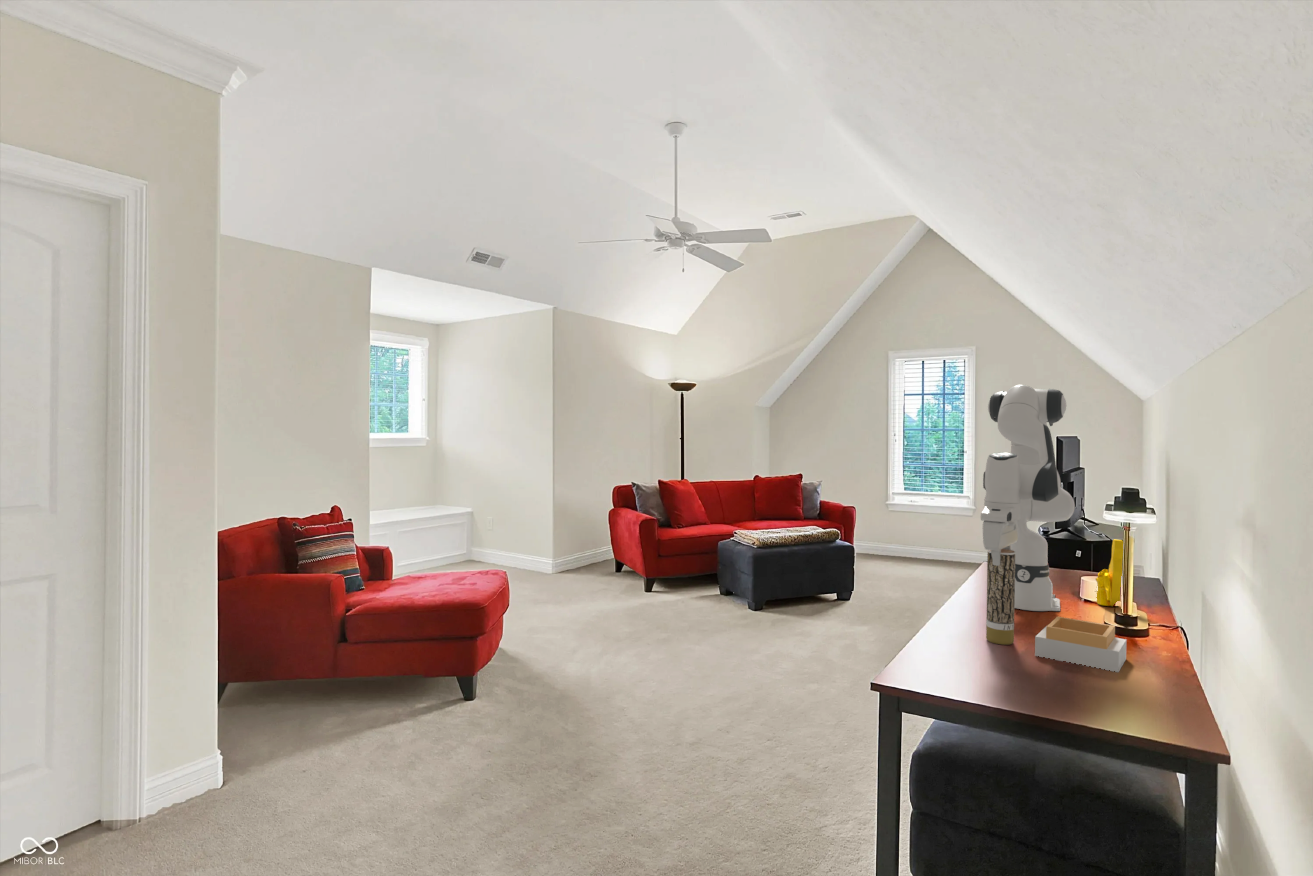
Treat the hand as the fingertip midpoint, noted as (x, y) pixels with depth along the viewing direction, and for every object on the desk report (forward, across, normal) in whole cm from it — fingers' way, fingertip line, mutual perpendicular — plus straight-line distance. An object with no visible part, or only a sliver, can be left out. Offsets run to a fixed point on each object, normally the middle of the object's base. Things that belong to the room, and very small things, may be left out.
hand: (1001, 563), depth 189 cm
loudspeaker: (+22, 0, +19) cm, 29 cm away
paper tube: (+22, 0, 0) cm, 22 cm away
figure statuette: (+22, -68, +16) cm, 73 cm away
